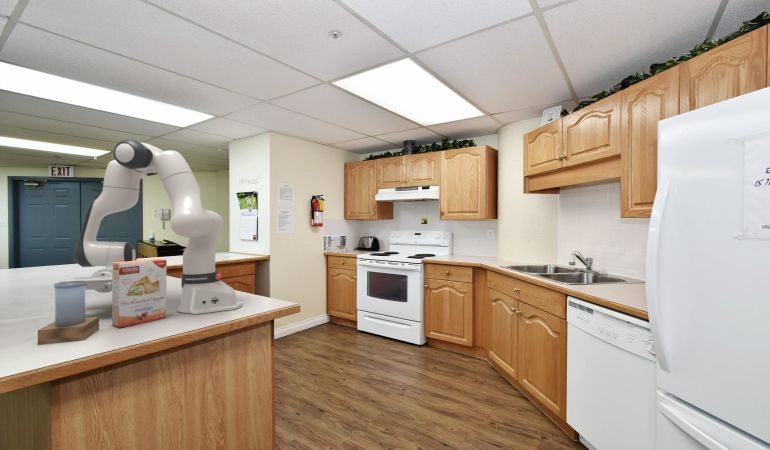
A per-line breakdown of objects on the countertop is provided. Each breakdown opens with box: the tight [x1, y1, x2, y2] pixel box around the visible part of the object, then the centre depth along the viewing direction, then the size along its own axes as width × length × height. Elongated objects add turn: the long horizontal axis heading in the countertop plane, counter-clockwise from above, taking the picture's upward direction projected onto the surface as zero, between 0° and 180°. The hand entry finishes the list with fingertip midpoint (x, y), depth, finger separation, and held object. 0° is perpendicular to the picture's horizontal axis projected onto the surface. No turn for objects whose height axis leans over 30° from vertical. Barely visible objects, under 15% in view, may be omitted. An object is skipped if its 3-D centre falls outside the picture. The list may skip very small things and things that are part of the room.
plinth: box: [37, 316, 100, 345], centre depth 97 cm, size 10×10×4 cm
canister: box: [53, 281, 86, 327], centre depth 97 cm, size 7×7×12 cm
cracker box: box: [111, 258, 167, 329], centre depth 111 cm, size 14×6×21 cm, turn 148°
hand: (89, 287), depth 108 cm, fingers open, 8 cm apart
